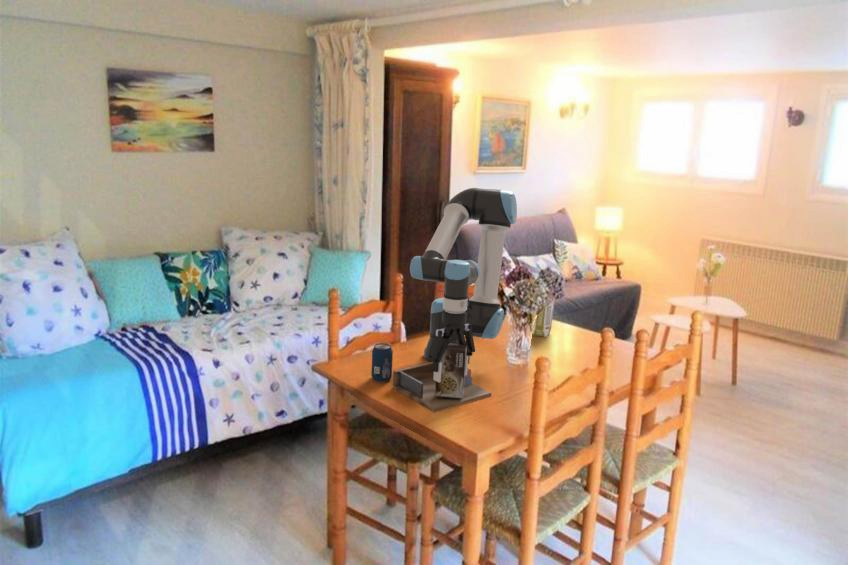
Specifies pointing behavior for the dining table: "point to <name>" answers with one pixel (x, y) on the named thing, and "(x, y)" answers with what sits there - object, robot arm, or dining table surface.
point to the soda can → (382, 362)
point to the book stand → (429, 399)
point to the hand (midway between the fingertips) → (450, 377)
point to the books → (468, 378)
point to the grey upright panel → (410, 384)
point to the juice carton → (544, 321)
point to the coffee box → (452, 371)
